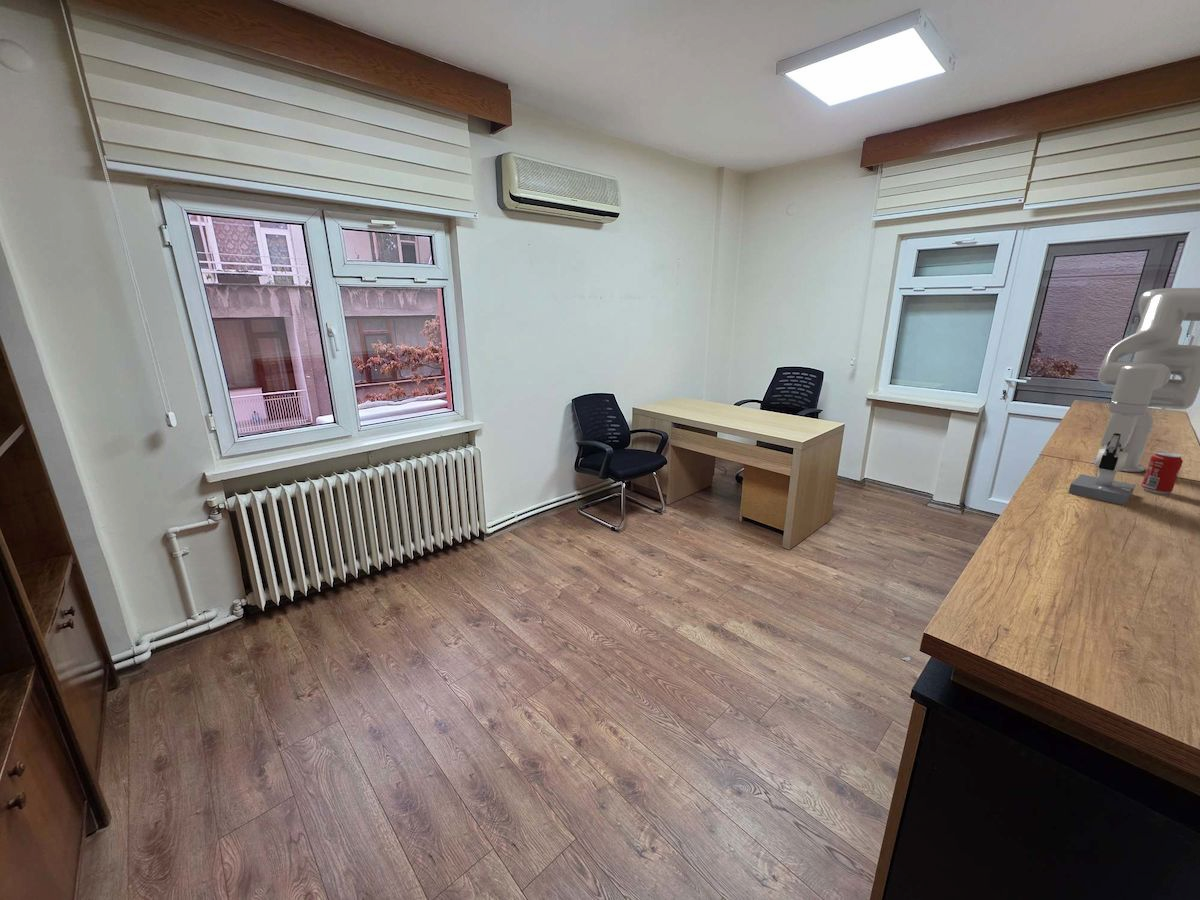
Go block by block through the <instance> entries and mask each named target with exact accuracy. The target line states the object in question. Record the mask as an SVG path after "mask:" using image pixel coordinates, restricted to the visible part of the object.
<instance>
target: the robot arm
mask: <svg viewBox="0 0 1200 900" xmlns="http://www.w3.org/2000/svg"><path fill="white" fill-rule="evenodd" d="M1138 313H1139V316H1140V321H1139V323H1138V326H1137V329H1136V330H1135V333H1134V334H1132V335H1129V336H1127V337H1125V338H1123V339H1121V340H1120V341H1118V342H1117V343H1115V344H1114V345H1113V346H1112V347H1110V348H1109V349H1108V351H1107V353H1106V354H1105V356H1104V358H1103V360H1102V363H1101V365H1100V367H1099V370H1098V373H1097V381H1098V382H1099V383H1100V384H1101V385H1103V386H1106V387H1114V389H1113V393H1112V395H1111V399H1110V402H1109V406H1108V409H1107V410H1106V411H1107V412H1108V414H1111V415H1110V417H1109V419H1108V422H1107V425H1106V428H1105V430H1104V433H1103V436H1102V439H1101V442H1100V446H1101V447H1103V448H1102V449H1105V452H1104V455H1102V459H1101V462H1100V465H1099V468H1101V469H1106V470H1111V471H1113V470H1114V469H1115V466H1116V463H1117V460H1118V457H1117V456H1118V453H1119V451H1123V452H1126V453H1128V456H1127V459H1126V462H1125V465H1124V468H1123V471H1122V472H1129V473H1141V472H1144V471H1145V467H1144V466H1143V465H1141V464H1140V462H1141V459H1142V456H1143V454H1144V450H1145V448H1146V444H1147V441H1148V438H1149V436H1150V433H1151V430H1152V426H1153V425H1154V417H1153V415H1152V414H1151V412H1150V410H1148V408H1149V407H1150V408H1158V409H1159V408H1160V409H1162V408H1163V409H1170V410H1186V409H1189V408H1190V407H1192V406H1193V404H1194V403H1195V401H1196V398H1197V396H1198V394H1199V390H1200V345H1194V344H1192V345H1191V344H1179V342H1180V341H1179V340H1180V338H1181V334H1182V331H1183V327H1182V324H1183V322H1185V321H1186V322H1188V321H1193V322H1194V321H1195V322H1196V321H1197V322H1200V287H1168V288H1164V287H1163V288H1155V289H1154V288H1153V289H1150V290H1147V291H1145V292H1143V293H1142V294H1141V295H1140V297H1139V299H1138ZM1133 353H1135V355H1134V358H1133V361H1123V360H1122V361H1121V360H1119V359H1121V358H1123V357H1125V356H1127V355H1131V354H1133ZM1171 375H1172V376H1174V375H1175V376H1179V377H1180V379H1179V378H1178V379H1176V378H1171ZM1116 450H1117V451H1116ZM1096 459H1097V457H1096V458H1093V460H1092V463H1093V464H1094V465H1095V462H1096ZM1099 468H1098V469H1099Z"/></svg>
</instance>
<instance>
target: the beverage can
mask: <svg viewBox="0 0 1200 900" xmlns="http://www.w3.org/2000/svg"><path fill="white" fill-rule="evenodd" d="M1181 457H1182V455H1181V454H1178V453H1173V452H1170V451H1169V452H1168V451H1156V452H1155V453H1154V454H1153V455H1151V457H1150V460H1149V462H1148V464H1147V469H1146V471H1145V474H1144V476H1143V480H1142V483H1141V487H1142V488H1143V490H1144V491H1146V492H1149V493H1152V494H1157V495H1158V494H1159V495H1167V494H1169V493H1171V492H1172V491H1173V489H1174V487H1175V484H1176V482H1177V479H1178V476H1179V473H1180V470H1181V469H1182V468H1181V467H1182V465H1183V462H1184V460H1183V459H1182V458H1181Z"/></svg>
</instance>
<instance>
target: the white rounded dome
mask: <svg viewBox="0 0 1200 900" xmlns="http://www.w3.org/2000/svg"><path fill="white" fill-rule="evenodd" d="M1116 451H1117V450H1116ZM1104 452H1105V449H1103V448H1099V449H1098V452H1097V455H1096V458H1097V459H1096V458H1095V459H1096V462H1095V464H1094V467H1095V468H1098V469H1099V465H1100V462H1101V459H1102V455H1104ZM1127 456H1128V453H1126V452H1123V451H1119V453H1118V456H1117V457H1118V460H1117V463H1116V466H1115V469H1114V470H1113V471H1116V472H1124V471H1123V468H1124V465H1125V462H1126V459H1127ZM1105 470H1106V469H1105Z"/></svg>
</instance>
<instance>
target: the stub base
mask: <svg viewBox="0 0 1200 900" xmlns="http://www.w3.org/2000/svg"><path fill="white" fill-rule="evenodd" d="M1116 474H1117V471H1111V470H1105V469H1101V468H1098V471H1097V474H1096V476H1091V475H1087V474H1080V475H1079V476H1077V477H1076V478H1075V479H1074V480H1073V481H1072V482H1071V483H1070V487H1069V490H1068V494H1070V493H1072V494H1071V495H1075V494H1076V495H1075V496H1080V495H1081V496H1080V497H1086V498H1089V499H1093V500H1098V501H1103V502H1106V503H1107V502H1108V503H1113V504H1116V503H1117V505H1121V504H1122V505H1121V506H1126V505H1127V502H1128V501H1129V500H1130V498H1131V497H1132V496H1133V493H1134V490H1135V487H1136V484H1134V483H1129V482H1128V483H1127V482H1122V481H1117V480H1114V479H1115V477H1116ZM1130 496H1131V497H1130ZM1125 504H1126V505H1125Z"/></svg>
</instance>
